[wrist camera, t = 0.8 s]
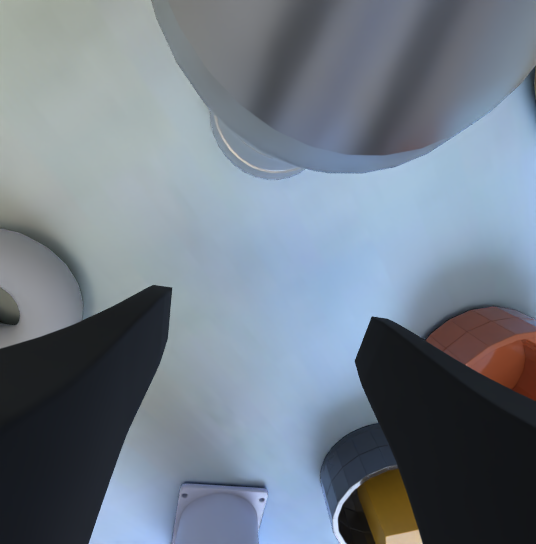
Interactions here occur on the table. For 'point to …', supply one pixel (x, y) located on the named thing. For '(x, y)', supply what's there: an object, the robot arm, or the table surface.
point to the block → (389, 509)
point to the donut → (36, 289)
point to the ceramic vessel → (535, 82)
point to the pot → (353, 480)
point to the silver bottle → (346, 75)
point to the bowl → (493, 345)
